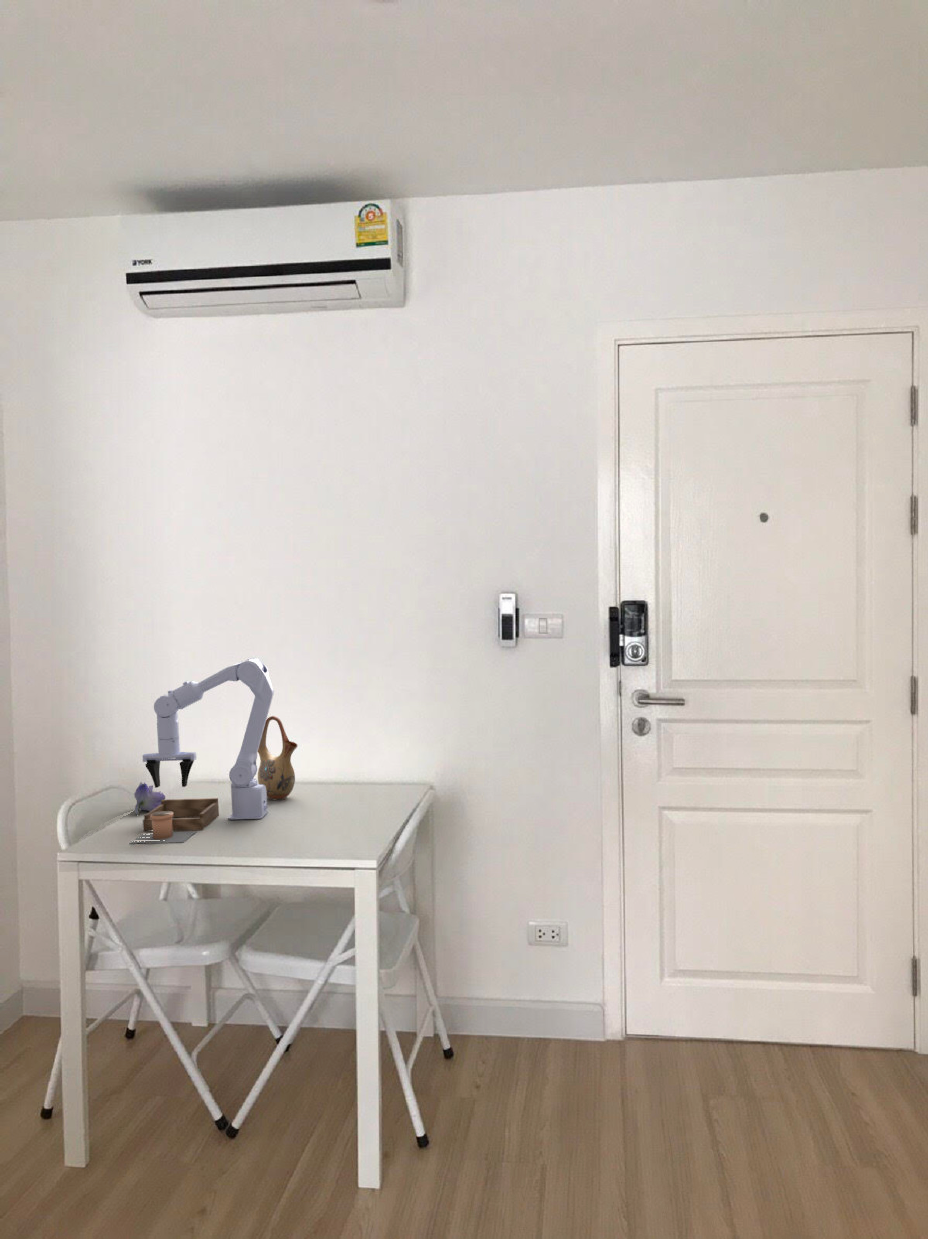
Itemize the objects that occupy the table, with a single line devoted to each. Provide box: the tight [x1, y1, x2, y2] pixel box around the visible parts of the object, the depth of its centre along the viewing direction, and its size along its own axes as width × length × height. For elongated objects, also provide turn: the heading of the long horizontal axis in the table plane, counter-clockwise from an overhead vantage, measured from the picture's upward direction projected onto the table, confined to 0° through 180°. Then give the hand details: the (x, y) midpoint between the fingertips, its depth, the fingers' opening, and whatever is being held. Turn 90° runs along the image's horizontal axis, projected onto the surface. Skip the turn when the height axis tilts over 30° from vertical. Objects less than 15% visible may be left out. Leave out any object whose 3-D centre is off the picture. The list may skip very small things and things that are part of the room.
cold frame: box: [142, 797, 220, 831], centre depth 277 cm, size 16×15×5 cm
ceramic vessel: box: [257, 715, 299, 800], centre depth 302 cm, size 16×9×25 cm, turn 62°
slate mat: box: [130, 831, 196, 845], centre depth 262 cm, size 14×10×1 cm
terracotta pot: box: [150, 811, 174, 839], centre depth 262 cm, size 6×6×6 cm
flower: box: [134, 781, 166, 817], centre depth 291 cm, size 9×9×10 cm
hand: (171, 786), depth 280 cm, fingers open, 7 cm apart
